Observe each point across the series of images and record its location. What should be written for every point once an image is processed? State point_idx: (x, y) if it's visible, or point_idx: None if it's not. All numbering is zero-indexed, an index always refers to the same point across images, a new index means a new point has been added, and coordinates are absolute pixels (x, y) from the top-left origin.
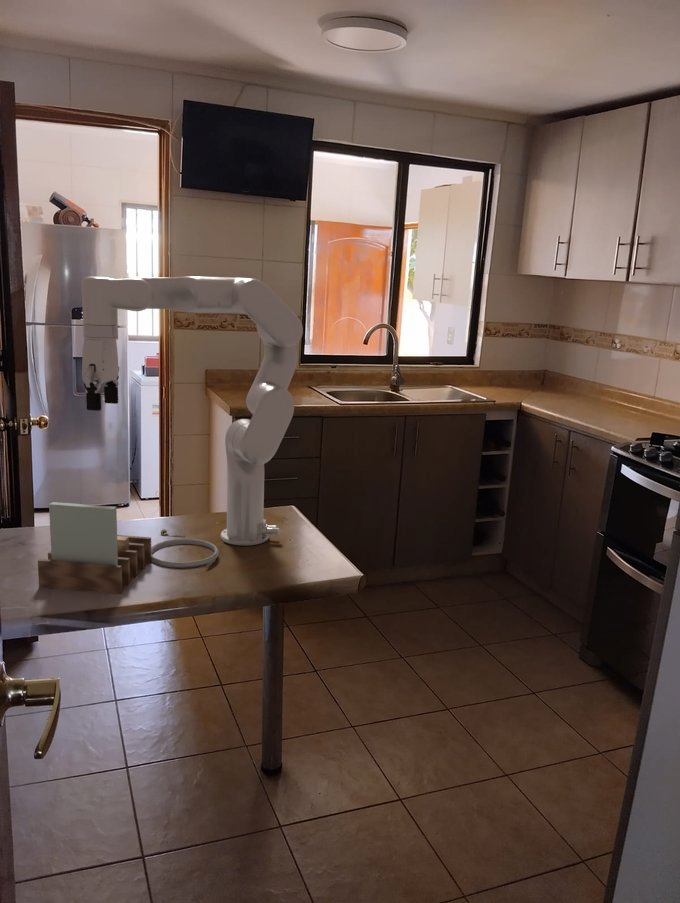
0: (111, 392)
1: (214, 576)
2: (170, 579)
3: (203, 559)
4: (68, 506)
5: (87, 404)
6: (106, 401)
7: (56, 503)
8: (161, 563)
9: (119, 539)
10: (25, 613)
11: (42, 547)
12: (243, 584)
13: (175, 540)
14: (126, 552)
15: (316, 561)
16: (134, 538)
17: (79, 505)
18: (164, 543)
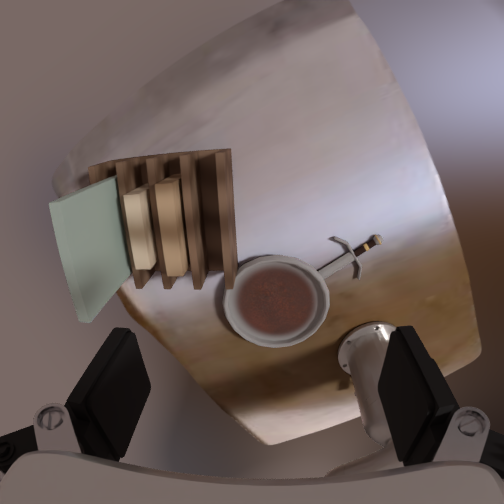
0: (402, 416)
1: (226, 348)
2: (199, 305)
3: (247, 339)
4: (57, 241)
5: (103, 349)
6: (392, 343)
7: (56, 214)
8: (224, 290)
9: (167, 266)
10: (62, 183)
11: (267, 65)
12: (214, 376)
13: (318, 282)
14: (162, 275)
15: (299, 421)
16: (223, 264)
17: (65, 261)
18: (304, 269)
